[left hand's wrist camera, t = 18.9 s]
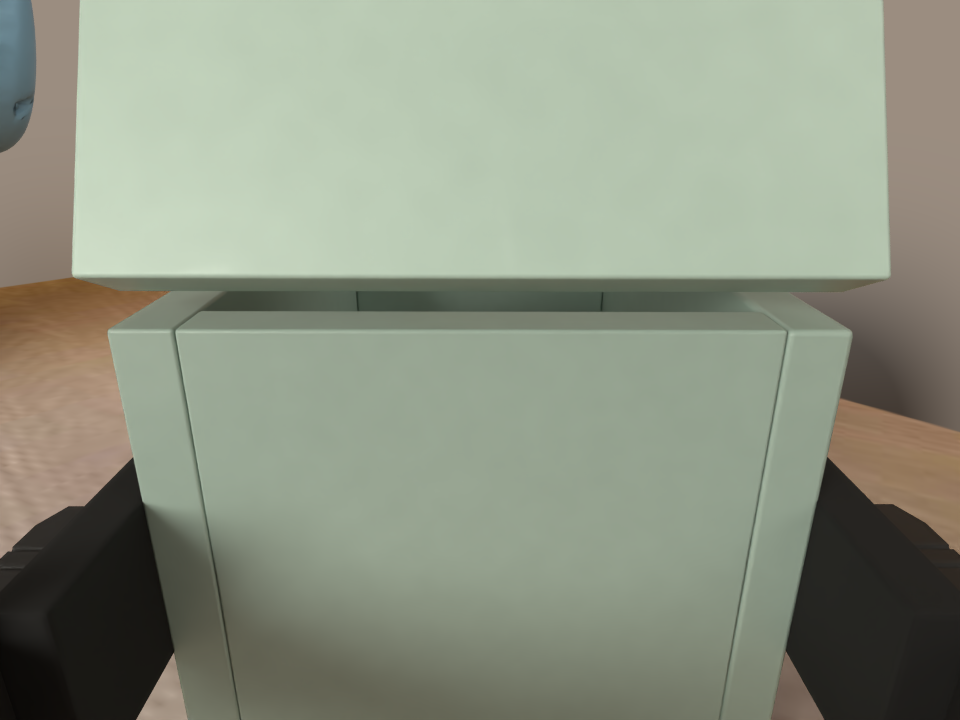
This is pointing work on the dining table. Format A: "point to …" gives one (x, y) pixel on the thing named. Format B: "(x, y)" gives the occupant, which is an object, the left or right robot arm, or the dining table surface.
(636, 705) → the chest
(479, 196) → the lid
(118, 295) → the dining table surface
